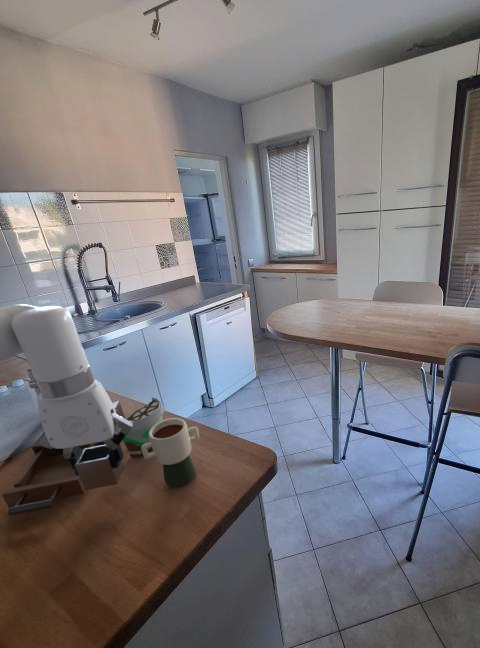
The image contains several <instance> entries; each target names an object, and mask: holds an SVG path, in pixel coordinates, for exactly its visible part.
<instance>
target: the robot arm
mask: <svg viewBox="0 0 480 648" xmlns="http://www.w3.org/2000/svg"><path fill="white" fill-rule="evenodd" d="M21 354H23V355H24V358H25V360H26V362H27V365H28V367H29V369H31V371H32V374H33V376H34V378H35V379H34V380H29V381H28V387H29V388H30V389H34V388H38V390H39V392H40V393H41V394H40V395H39V396H37V397H36V402H37V410H38V415H39V418H40V422H41V426H42V429H43V432H44V431H45V435H44V436H43V438H42V440H41V441H40V443H39V444H40V445H41V446H44V447H46V448H49V449H52V450H53V451H55V452H57V453H60V454H62V455H63V457H64V458H66V459H69V461H70V463H71V466H72V468H73V469H75V471H76V474H77V475H79V474H78V472H77V470H76V467H75V463H76V462H77V460H78V458H79V456H80V455H81V453H82V449H81V448H80V447H78V448H77V446H81V445H87V444H92V443H97V442H102V441H103V442H104V443H105V444H106V445H107V446H108V447H109V451H108V454H109V456H110V459H111V462H112V464H113V467H114V468H118V467H119V465H120V462H121V461H123V460H124V455H125V454H124V452H123V449H122V446H121V443H122V442H123V439H124V437H125V436H126V435H127V434H128V433H129V432H130V430H131V429H132V427H133V423H132V422H130V421H128V420H127V419H126V418H125V419H124V418H123V417H121V416H119V415H117V414H116V411H115V409H114V406H113V404H112V402H113V401H112V400H111V398H110V396H109V394H108V393H107V390H105V388H104V386H103V384H102V383H101V382H100V380H99V379H95V377H94V374H93V372H92V369H91V366H90V364H89V360H88V357H87V355H86V352H85V350H84V346H83V344H82V341H81V338H80V335H79V333H78V330H77V328H76V324H75V321H74V319H73V316H72V314H71V312H70V311H69V310H68V309H67V308H65V307H64V306H60V305H59V306H58V305H50V306H49V305H48V306H35V305H30V304H26V303H25V304H24V303H22V304H21V303H18V304H17V303H16V304H10V305H6V306H3V307H0V363H1V362H4V361H5V360H8V359H11V358H13V357H14V356H17V355H21ZM116 426H118V427H120V428H121V430H120V431H119V432H118V433H117V432H116V431H115V427H116Z"/></svg>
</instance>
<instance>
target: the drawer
mask: <svg viewBox="0 0 480 648" xmlns="http://www.w3.org/2000/svg"><path fill="white" fill-rule="evenodd" d="M100 445H101V443H100V442H97V443H92V444H87V445H81V446H77V448H78V447H80V448H81V449H82V451H83V449H84V448H90V447H95V446H100ZM85 493H86V490H85V488H84V486H83V483H82V481H81V479H80V476H79V475H77V474H76V471H75V469H73V468H72V466H71V463H70V461H69V459H66V458H64V457H63V455H62V454H60V453H57V452H55V451H53V450H52V449H49V448H42V449H40V450H39V452H38V453H37V454H36V456H34V457H33V458H32V460H31V461H30V462H29V463H28V464H27V466H26V467H25V468H24V470H23V471H22V473H21V474H20V475H19V477H18V478H17V479H16V481H14V483H13V488H7V489H5V490H4V491H3V492H2V493H1V496H2V499H3V500H4V502H5V503H6V505H7V507H8V510H7V515H8V516H9V517H12V516H18V515H22V514H26V513H32V512H36V511H41V510H46V509H50V508H54V506H55V505H56V502H55V500H60V499H65V498H69V497H75V496H79V495H84V494H85Z"/></svg>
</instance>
